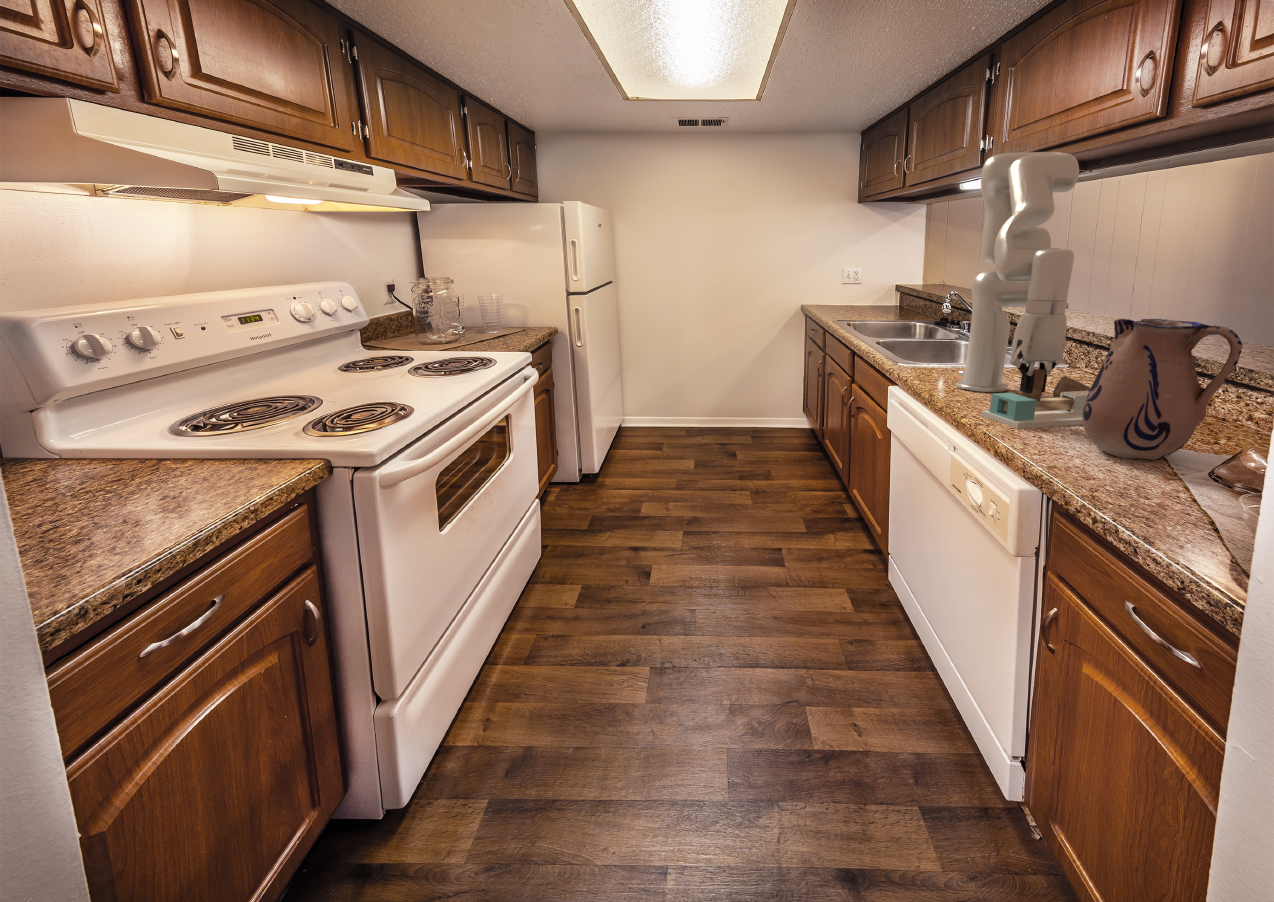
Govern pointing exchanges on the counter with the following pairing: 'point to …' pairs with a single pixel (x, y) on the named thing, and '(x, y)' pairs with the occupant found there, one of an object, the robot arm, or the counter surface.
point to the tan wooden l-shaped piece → (1044, 403)
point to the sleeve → (1075, 401)
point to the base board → (1039, 419)
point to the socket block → (1013, 406)
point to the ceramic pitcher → (1152, 388)
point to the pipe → (1068, 386)
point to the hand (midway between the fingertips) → (1031, 391)
